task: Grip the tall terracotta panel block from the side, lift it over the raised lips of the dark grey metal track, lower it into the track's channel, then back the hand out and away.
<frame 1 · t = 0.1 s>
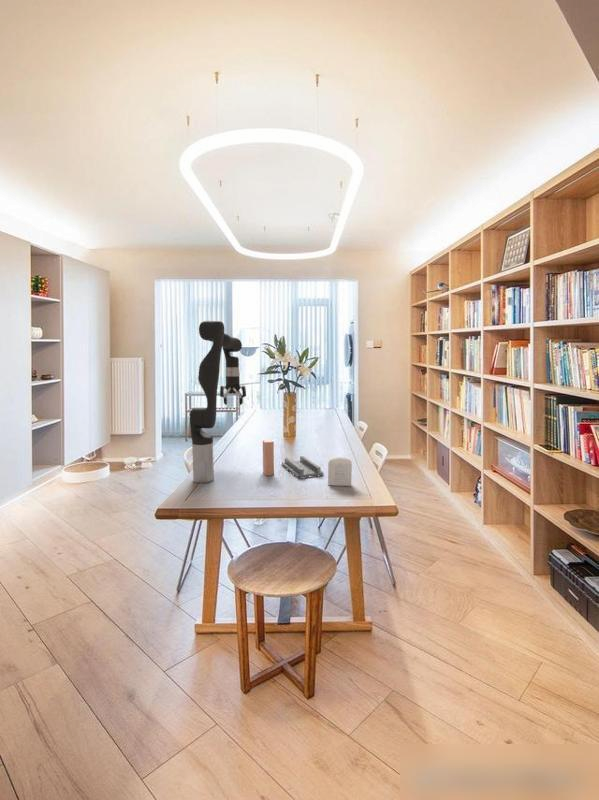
hand: (233, 404, 231), 29 cm above the table, tool pointing down, fingers open, 8 cm apart
panel block: (268, 473, 199), on the table
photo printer: (339, 485, 182), on the table
track: (301, 470, 205), on the table
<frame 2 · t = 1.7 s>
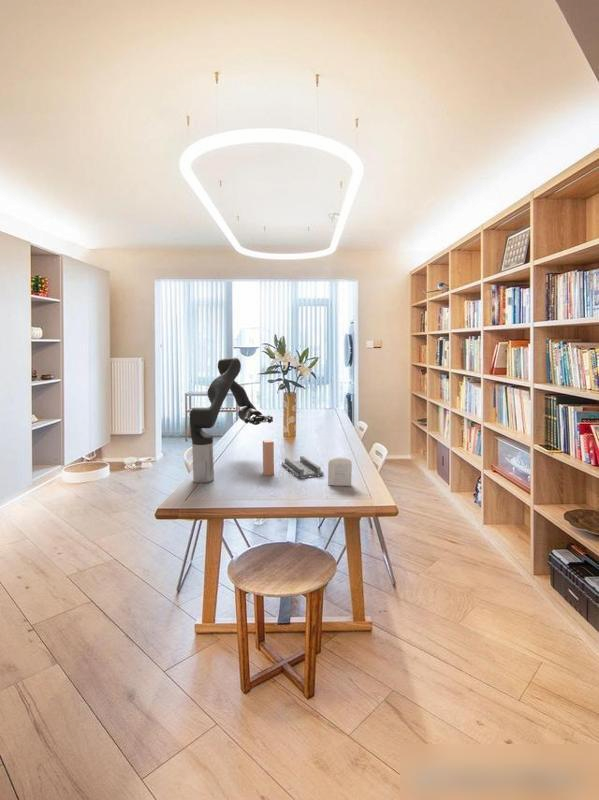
hand: (261, 421, 207), 24 cm above the table, tool horizontal, fingers open, 8 cm apart
nothing on the table moved.
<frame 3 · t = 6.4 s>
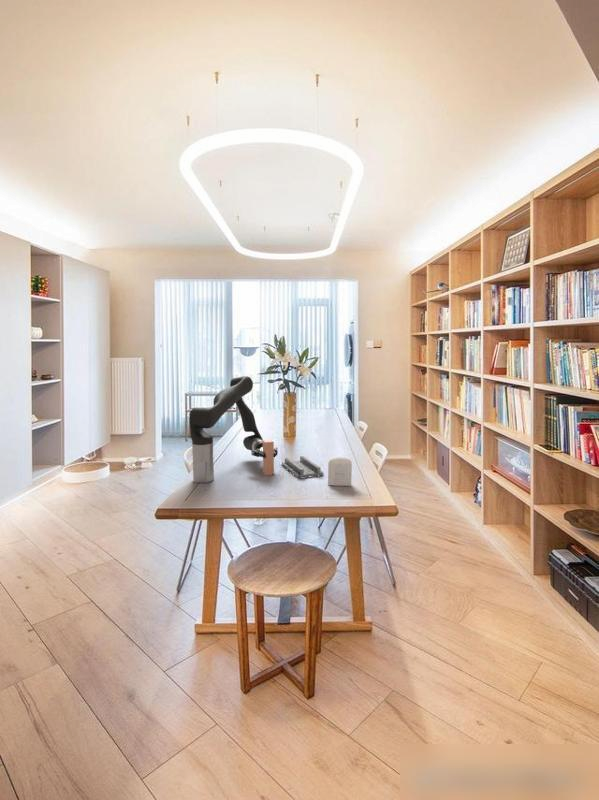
hand: (269, 455, 196), 10 cm above the table, tool horizontal, fingers closed on panel block, 4 cm apart
panel block: (268, 473, 199), on the table, touching gripper
everything else where it was.
when the fingers open (12 cm above the table, at t = 11.1 s): panel block drops 1 cm, resting on track.
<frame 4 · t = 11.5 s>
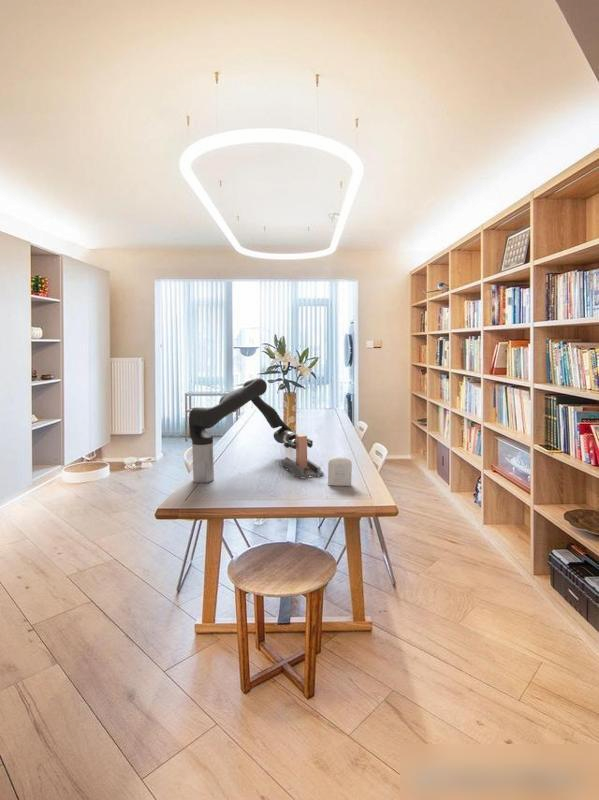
hand: (303, 446, 202), 12 cm above the table, tool horizontal, fingers open, 7 cm apart
panel block: (301, 467, 205), point 2 cm above the table, touching track
everything else where it was.
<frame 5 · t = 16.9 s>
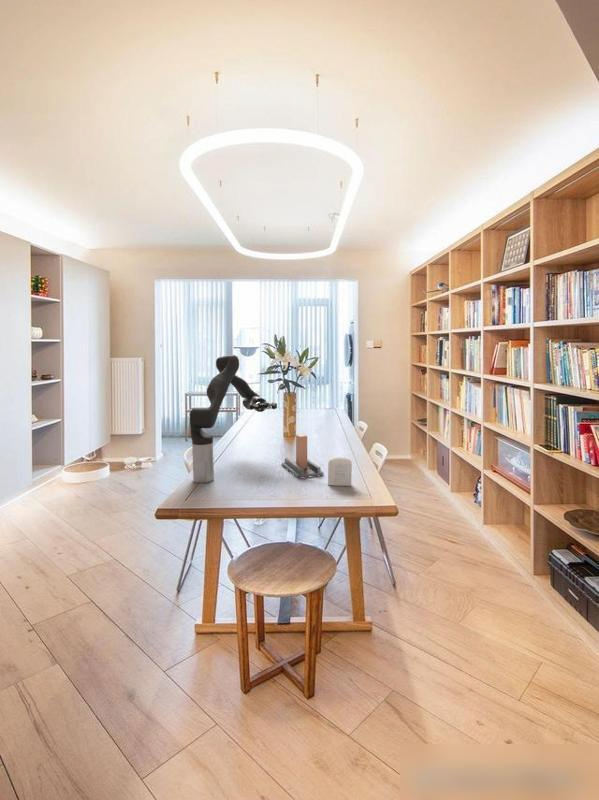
hand: (266, 407, 211), 30 cm above the table, tool horizontal, fingers open, 8 cm apart
nothing on the table moved.
at the end: panel block inside the target area on the track (0.1 cm from its centre), point 1.5 cm above the track's base; panel block tilted 0°; the gripper is holding nothing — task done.
